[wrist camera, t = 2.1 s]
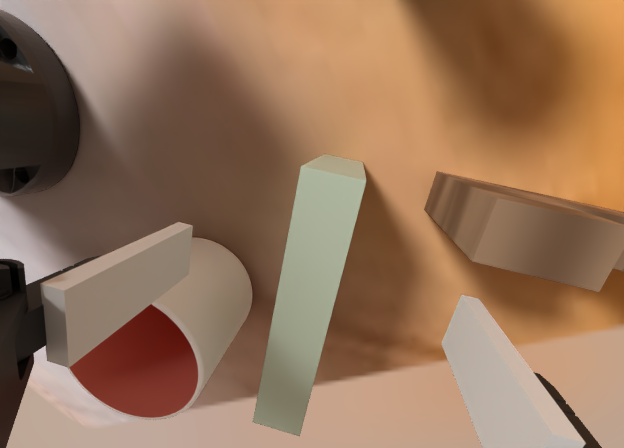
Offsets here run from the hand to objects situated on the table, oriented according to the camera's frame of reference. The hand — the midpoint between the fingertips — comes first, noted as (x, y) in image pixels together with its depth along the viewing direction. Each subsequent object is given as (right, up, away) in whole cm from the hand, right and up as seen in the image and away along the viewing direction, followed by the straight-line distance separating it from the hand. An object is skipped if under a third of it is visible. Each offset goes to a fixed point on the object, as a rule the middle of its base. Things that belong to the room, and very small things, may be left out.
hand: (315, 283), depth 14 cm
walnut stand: (+17, +4, +8) cm, 19 cm away
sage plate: (+1, +1, +11) cm, 11 cm away
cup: (-10, -3, +14) cm, 17 cm away
